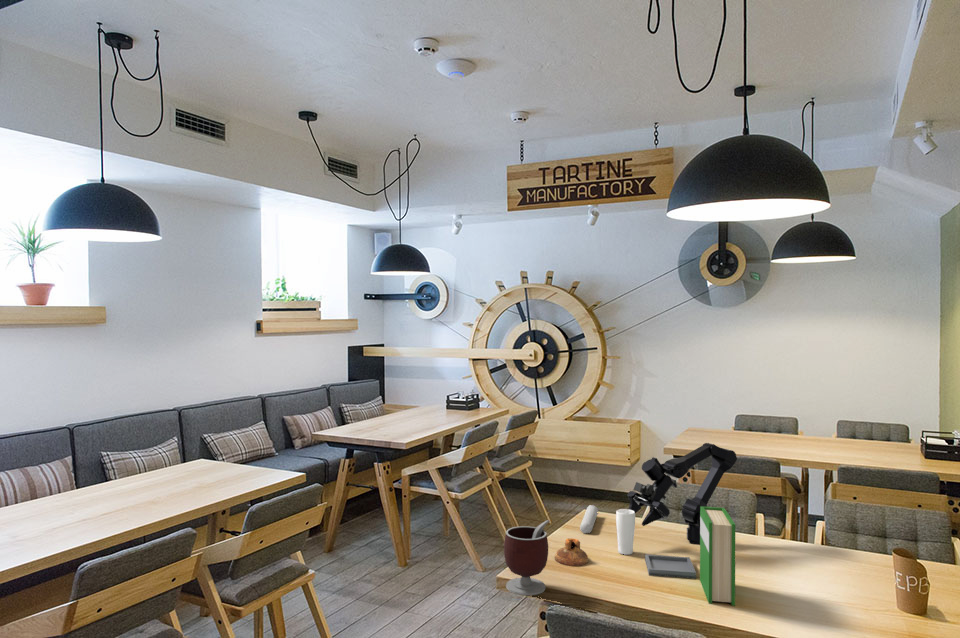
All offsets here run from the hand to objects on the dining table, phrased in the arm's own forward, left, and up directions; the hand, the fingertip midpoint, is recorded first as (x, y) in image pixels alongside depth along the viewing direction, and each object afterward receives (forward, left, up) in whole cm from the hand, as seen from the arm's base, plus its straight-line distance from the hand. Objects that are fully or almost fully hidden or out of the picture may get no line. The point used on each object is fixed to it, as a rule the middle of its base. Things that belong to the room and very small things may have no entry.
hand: (634, 521), depth 231 cm
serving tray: (-11, +15, -11) cm, 21 cm away
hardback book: (-23, +32, -11) cm, 41 cm away
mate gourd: (+35, +39, -11) cm, 54 cm away
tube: (+16, -28, -11) cm, 34 cm away
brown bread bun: (+23, +13, -11) cm, 28 cm away
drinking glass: (+3, +2, -11) cm, 12 cm away
